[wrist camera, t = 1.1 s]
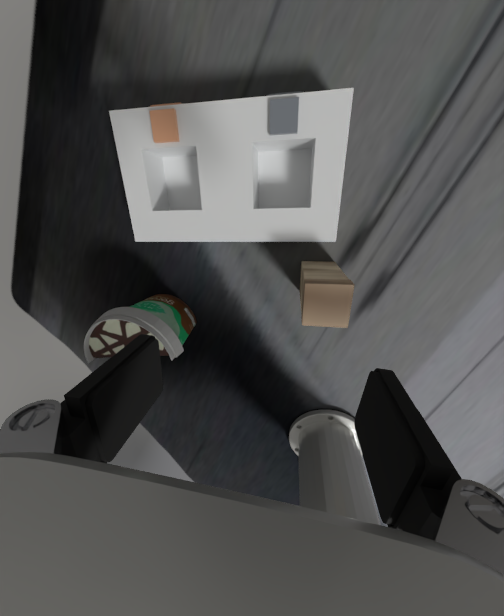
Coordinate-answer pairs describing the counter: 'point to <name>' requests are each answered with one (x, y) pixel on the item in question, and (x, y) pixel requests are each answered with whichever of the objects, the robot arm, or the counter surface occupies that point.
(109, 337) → the food container
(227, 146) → the socket block
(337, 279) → the plug
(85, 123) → the counter surface
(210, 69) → the counter surface
